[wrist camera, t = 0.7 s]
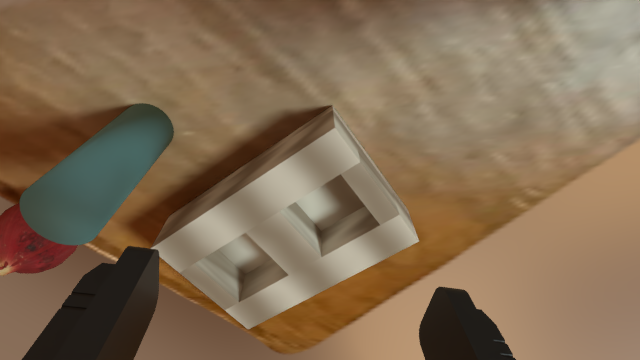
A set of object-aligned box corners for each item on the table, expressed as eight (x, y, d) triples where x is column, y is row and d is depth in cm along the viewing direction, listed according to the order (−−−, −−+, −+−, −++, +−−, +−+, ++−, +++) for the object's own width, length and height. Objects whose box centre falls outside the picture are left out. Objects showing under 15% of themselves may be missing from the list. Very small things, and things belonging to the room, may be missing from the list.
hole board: (332, 105, 30) (335, 127, 26) (407, 209, 35) (419, 241, 31) (168, 216, 35) (150, 248, 31) (254, 293, 40) (248, 329, 36)
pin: (145, 93, 29) (51, 168, 19) (184, 133, 31) (116, 222, 20) (111, 122, 30) (3, 208, 20) (149, 159, 32) (69, 256, 21)
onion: (67, 171, 32) (-1, 229, 25) (111, 222, 35) (61, 287, 28) (14, 194, 33) (-65, 256, 26) (61, 242, 36) (0, 309, 29)
